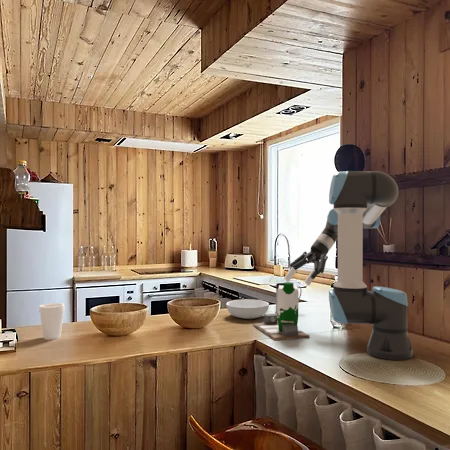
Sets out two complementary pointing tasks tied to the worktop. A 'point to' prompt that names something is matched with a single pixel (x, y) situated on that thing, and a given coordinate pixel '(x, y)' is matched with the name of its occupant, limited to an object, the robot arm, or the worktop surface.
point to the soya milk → (287, 305)
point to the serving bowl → (247, 308)
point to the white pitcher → (277, 293)
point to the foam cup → (52, 319)
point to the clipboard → (273, 332)
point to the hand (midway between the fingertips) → (296, 281)
